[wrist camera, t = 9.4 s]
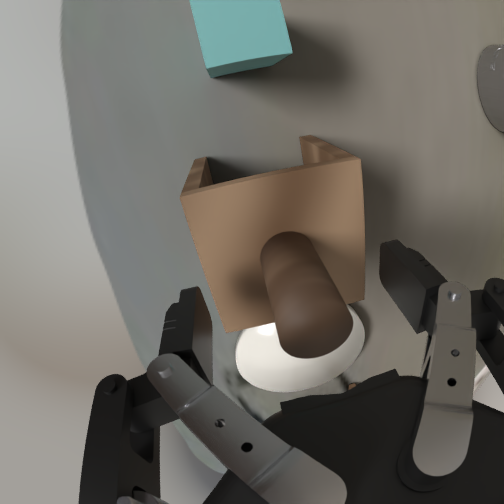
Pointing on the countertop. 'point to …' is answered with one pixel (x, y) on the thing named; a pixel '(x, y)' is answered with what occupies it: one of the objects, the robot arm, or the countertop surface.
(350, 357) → the saucer
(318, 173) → the brown forked piece
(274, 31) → the block
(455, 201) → the countertop surface
